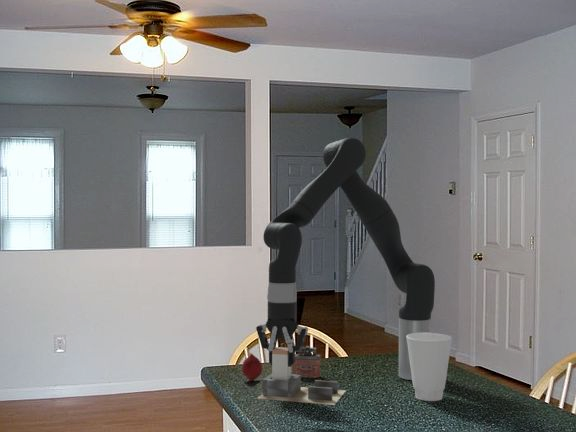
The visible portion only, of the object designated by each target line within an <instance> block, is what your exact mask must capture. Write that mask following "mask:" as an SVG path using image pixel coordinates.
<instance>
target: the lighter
mask: <svg viewBox="0 0 576 432" xmlns="http://www.w3.org/2000/svg"><path fill="white" fill-rule="evenodd" d="M296 352H298V354H296ZM321 357H322V356H321V354H317V347H311V346H309V345H306V346H305V347H304V346H302V348H301V349H300V350H298V351H295V363H294V364H293V365H292V374H295V375H301V378H306V379H307V378H310V379H311V378H313V379H314V378H315V379H316V378H321Z"/></svg>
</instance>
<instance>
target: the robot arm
mask: <svg viewBox="0 0 576 432" xmlns="http://www.w3.org/2000/svg"><path fill="white" fill-rule="evenodd" d="M366 154H367V151H366V148H365V146H364V143H363V142H362V140H359V139H358V138H356V137H347V138H342V139H339V140H335V141H333V142H330V143H328V144H327V145H326V146H325V147H324V149H323V153H322V158H323V162H324V166H325V167H326V168H325V169H324V170H323V171H322V172H321V173H320V174H319V175H318V176H317V177H315V178H314V179H313V180H312V181H311V182H309V183H308V184H307V185H306V186H305V187H304V188H303V189H302V190H301V191H300V192H299V193H298V194H297V196H296V197H295V198H294V199H293V201H292V202H291V203H290V204H289V206H288V207H287V208H286V209H284V210H283V211H281V213H279V214H278V215H276V217H274V218H273V219H272V220H271V221H270V222H269V223H268V224H267V225H266V227H265V229H264V231H263V242H264V244H265V245H266V246H267V247H268V248H269V249H272V250H278V254H277V258H274V259H272V260H270V262H269V265H268V287H267V296H266V297H267V321H266V322H265V324H260V325H259V324H258V326H256V327H255V329H256V332H257V336H258V340H259V342H260V345H261V348H262V349H265V350H267V351H268V363H269V364H270V365H271V367H272V350H273V349H275V348H276V347H277V342H278V340H279V339H280V340H281V339H282V340H285V343H286V345H287V348H288V350H289V352H288V367H291V368H292V367H293V364H294V363H295V354H296V351H298V350H300V349H301V348H302V347H304V343H305V341H306V337H307V334H308V331H309V328H308V327H306V326H301V325H299V323H298V321H297V313H298V312H297V309H298V308H297V300H298V299H297V298H298V297H297V294H298V292H297V284H296V282H297V272H296V271H297V270H296V267H297V263H298V260H299V256H300V252H301V247H302V244H303V243H302V241H303V238H302V237H303V235H302V232H301V230H300V228H304V227H306V226H307V225H309V224H310V223H311V222H312V221H313V219H314V218H315V216H317V214H318V213H319V212H320V210H321V208H322V207H323V206H324V205H325V204H326V203H327V201H328V200H329V199H330V198H331V196H332V195H333V194H334V193H335V192H336V191H337V190H338V189H339V188H340V189H341V190H342V192H343V193H344V195H345V196H346V198H347V199H348V201H349V203H350V204H351V206H352V207H353V209H354V211H355V213H356V214H357V216H358V218H359V220H360V221H361V223H362V226H363V227H364V229H365V230H366V232H367V234H368V235H369V236H370V238H371V240H372V243H374V245H375V248H376V249H377V250H378V252H379V254H380V255H381V257H382V259H383V261H384V263H385V266H386V267H387V270H388V272H389V274H390V276H391V278H392V280H393V283H394V284H395V286H396V288H397V289H398V290H399V291H401V292H402V293H404V294H406V296H405V298H406V299H405V304H403V306H400V308H399V310H398V377H399V378H401V379H402V380H403V379H404V380H406V381H407V380H409V381H412V374H411V367H410V359H409V352H408V344H407V338H406V336H407V335H408V334H412V333H432V326H431V325H432V313H433V311H434V306H435V305H434V304H435V290H436V282H435V281H436V280H435V274H434V272H433V270H432V268H431V267H430V266H428V265H426V264H421V263H416V262H414V261H413V260H412V259H411V257H410V256H409V254H408V252H407V250H406V249H405V247H404V245H403V242H402V235H401V227H400V224H399V220H398V218H397V216H396V214H395V213H394V211H393V208H392V207H391V205H390V204H389V203H388V202H387V200H386V199H385V198H384V197H383V196H382V195H381V194H379V193H378V192H377V191H376V190H374V189H373V188H372V187H370V186H369V185H368V184H367V183H366V181H364V180H363V179H362V177H361V176H360V174H359V172H358V171H357V170H359V168H361V167H362V166H363V164H364V162H365V161H366V158H367V155H366ZM267 330H268V332H269V333H270V339H269V340H268V336H267V334H266V333H267ZM296 331H297V335H298V338H297V342H296V344H295V338H294V334H295V332H296Z"/></svg>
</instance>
